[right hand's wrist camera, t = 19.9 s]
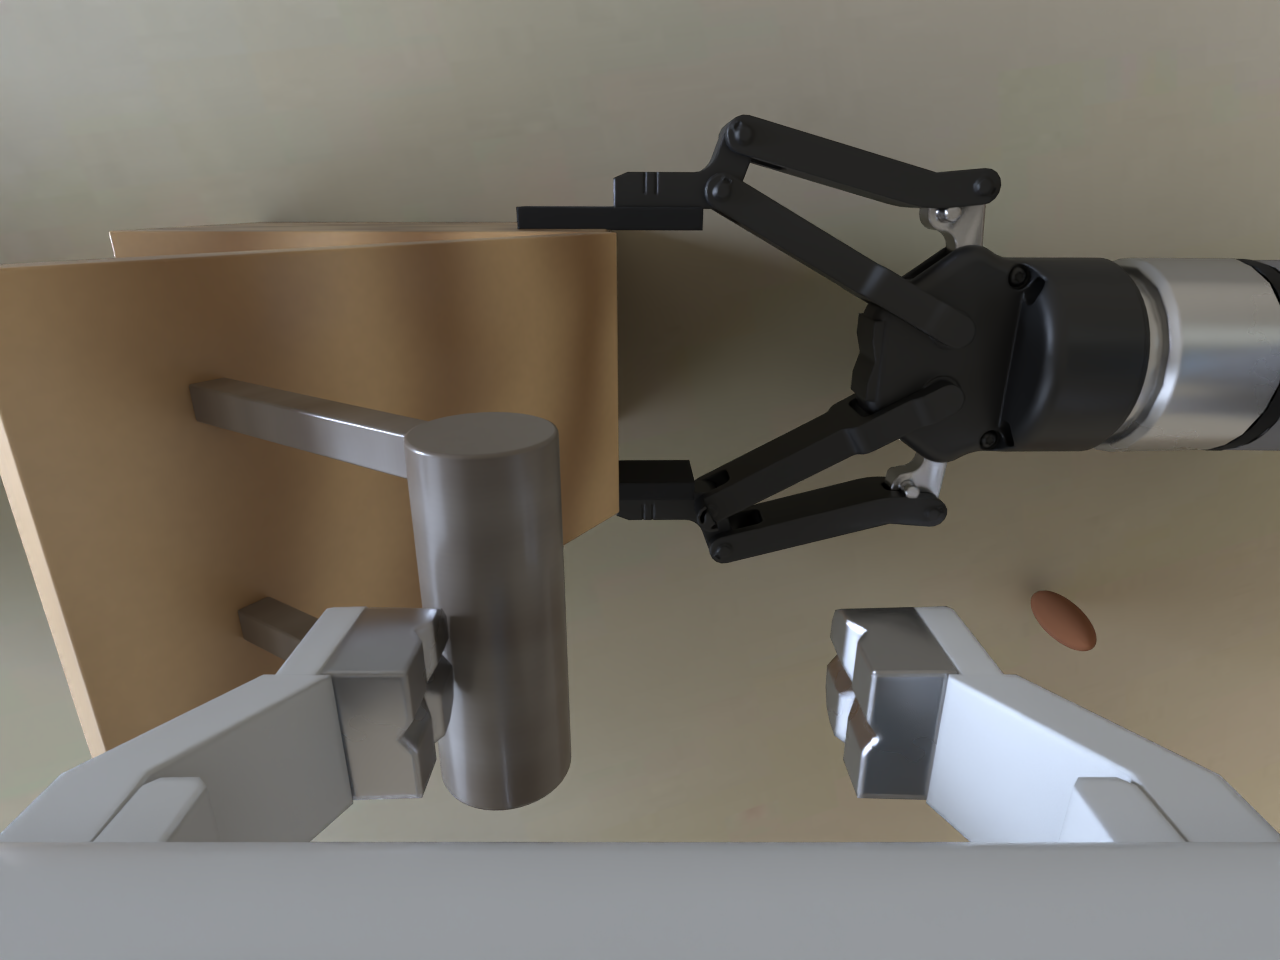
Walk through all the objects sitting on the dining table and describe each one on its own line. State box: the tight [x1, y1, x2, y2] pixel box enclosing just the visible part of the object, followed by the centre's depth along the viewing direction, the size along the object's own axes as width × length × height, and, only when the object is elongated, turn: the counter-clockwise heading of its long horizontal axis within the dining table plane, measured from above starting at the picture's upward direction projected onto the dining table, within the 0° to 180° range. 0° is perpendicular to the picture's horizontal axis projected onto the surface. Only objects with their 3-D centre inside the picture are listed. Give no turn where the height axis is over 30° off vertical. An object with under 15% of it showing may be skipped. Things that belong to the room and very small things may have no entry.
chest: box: [109, 222, 611, 258], centre depth 30 cm, size 16×10×11 cm, turn 90°
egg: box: [1031, 591, 1096, 651], centre depth 39 cm, size 2×2×5 cm
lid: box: [0, 232, 619, 810], centre depth 17 cm, size 16×10×9 cm
